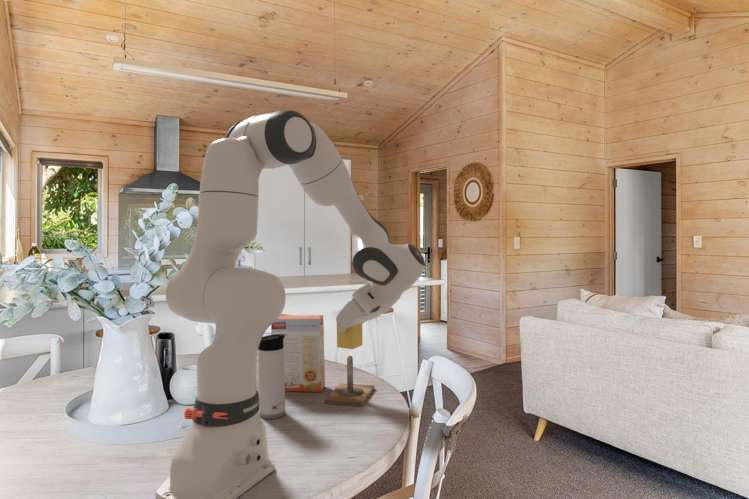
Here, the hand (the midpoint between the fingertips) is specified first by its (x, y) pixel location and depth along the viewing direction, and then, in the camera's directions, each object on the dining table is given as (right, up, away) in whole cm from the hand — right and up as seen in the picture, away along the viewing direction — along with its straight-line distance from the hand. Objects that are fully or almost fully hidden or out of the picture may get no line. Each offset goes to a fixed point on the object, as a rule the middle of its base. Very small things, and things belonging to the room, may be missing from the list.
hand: (347, 329), depth 142 cm
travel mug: (-18, -19, -12) cm, 29 cm away
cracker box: (-14, -18, +7) cm, 24 cm away
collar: (+1, -5, 0) cm, 5 cm away
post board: (+1, -18, +1) cm, 18 cm away
